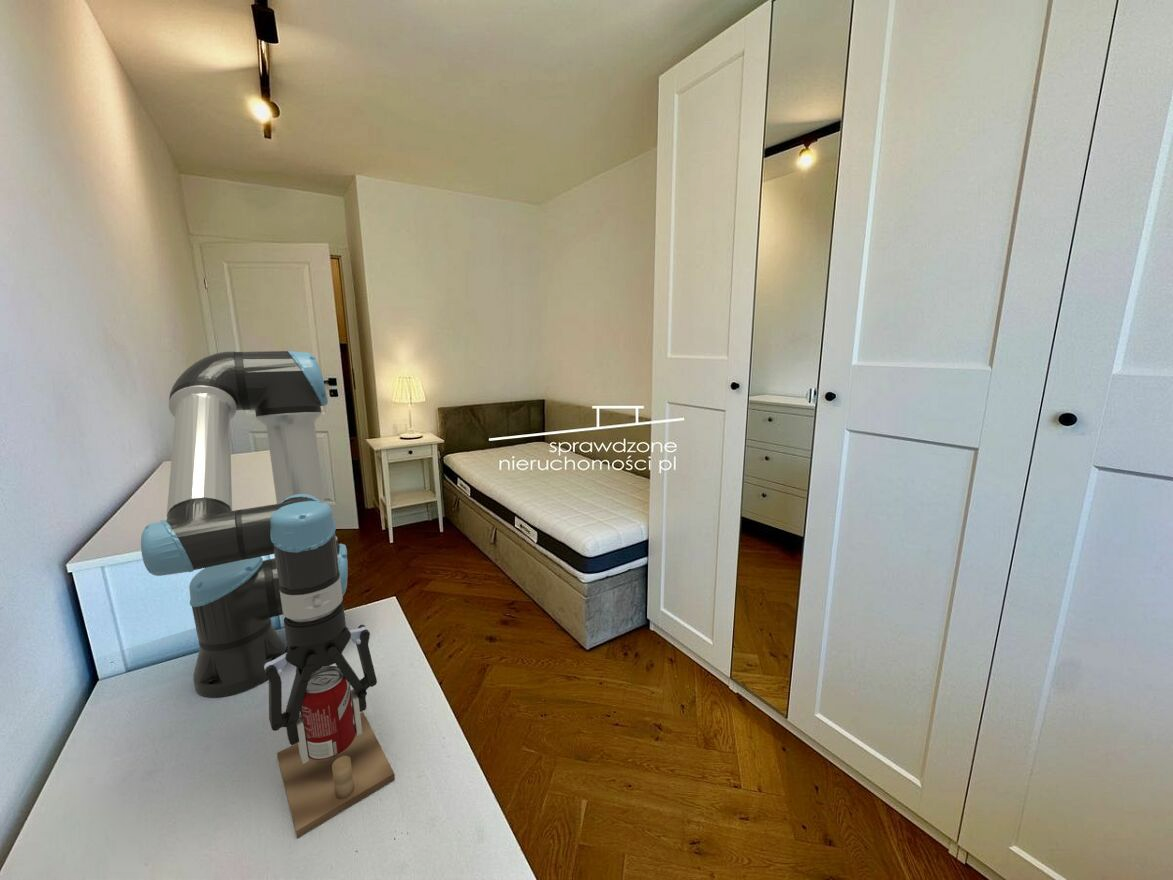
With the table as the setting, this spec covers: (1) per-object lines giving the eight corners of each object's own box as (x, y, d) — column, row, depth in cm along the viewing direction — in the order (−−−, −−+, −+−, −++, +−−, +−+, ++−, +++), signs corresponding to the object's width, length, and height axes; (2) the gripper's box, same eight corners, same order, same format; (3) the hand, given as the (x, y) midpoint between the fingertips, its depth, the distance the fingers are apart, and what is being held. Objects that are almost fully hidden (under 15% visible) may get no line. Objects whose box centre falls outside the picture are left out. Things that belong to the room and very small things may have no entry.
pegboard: (277, 759, 74) (272, 726, 73) (363, 717, 82) (360, 687, 81) (297, 838, 62) (291, 801, 61) (394, 779, 71) (391, 746, 69)
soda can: (335, 768, 67) (326, 698, 65) (295, 760, 69) (285, 691, 66) (365, 731, 74) (358, 666, 71) (329, 724, 75) (320, 660, 73)
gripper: (231, 650, 57) (257, 800, 62) (392, 595, 70) (404, 723, 75) (226, 623, 63) (251, 763, 68) (376, 576, 76) (388, 697, 80)
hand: (331, 742), depth 71 cm, fingers closed on soda can, 7 cm apart
